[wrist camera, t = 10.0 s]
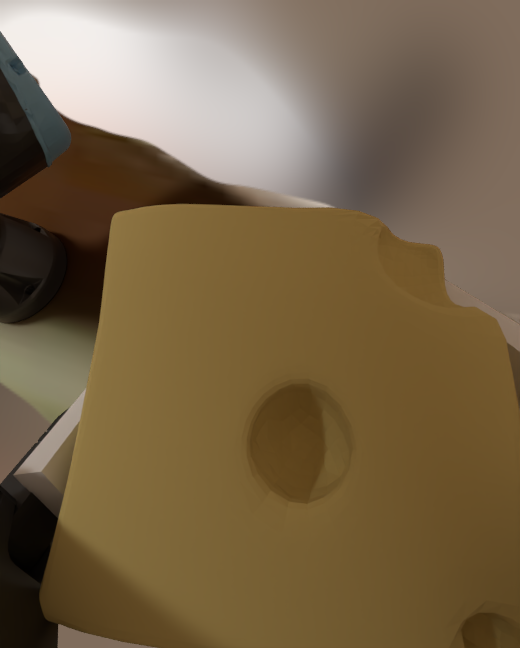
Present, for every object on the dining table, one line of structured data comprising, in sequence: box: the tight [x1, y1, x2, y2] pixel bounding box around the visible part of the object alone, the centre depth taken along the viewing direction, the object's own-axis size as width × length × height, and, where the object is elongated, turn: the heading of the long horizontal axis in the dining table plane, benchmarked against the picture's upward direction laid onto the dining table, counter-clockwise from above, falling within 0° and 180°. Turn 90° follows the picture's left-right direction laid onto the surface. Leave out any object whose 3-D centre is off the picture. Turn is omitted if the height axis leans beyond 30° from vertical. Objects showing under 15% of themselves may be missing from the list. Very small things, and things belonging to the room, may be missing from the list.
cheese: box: [39, 204, 520, 648], centre depth 11 cm, size 10×11×10 cm
